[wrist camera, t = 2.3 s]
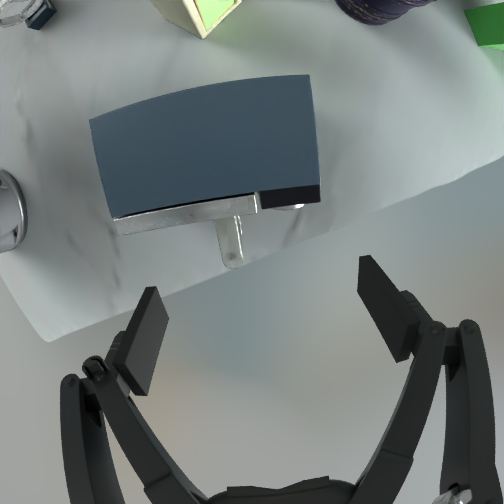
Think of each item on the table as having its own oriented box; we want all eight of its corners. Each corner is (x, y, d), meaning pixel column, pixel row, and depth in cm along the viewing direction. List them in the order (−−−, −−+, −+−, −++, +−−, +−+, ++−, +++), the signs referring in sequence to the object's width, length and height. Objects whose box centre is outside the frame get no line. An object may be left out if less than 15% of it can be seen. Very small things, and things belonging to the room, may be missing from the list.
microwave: (292, 177, 35) (322, 212, 22) (159, 198, 35) (119, 242, 23) (282, 92, 30) (309, 74, 17) (142, 117, 30) (88, 119, 18)
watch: (66, 2, 19) (26, -15, 9) (31, 38, 20) (-11, 30, 11) (57, -11, 16) (20, -28, 7) (24, 22, 18) (-16, 14, 8)
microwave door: (257, 225, 37) (266, 280, 25) (169, 238, 38) (139, 295, 26) (249, 167, 34) (254, 194, 22) (155, 184, 34) (113, 220, 22)
